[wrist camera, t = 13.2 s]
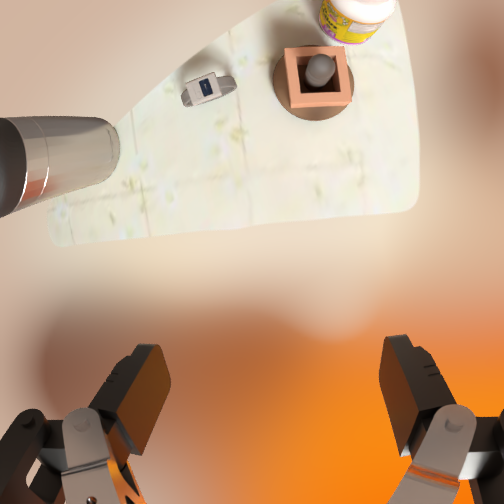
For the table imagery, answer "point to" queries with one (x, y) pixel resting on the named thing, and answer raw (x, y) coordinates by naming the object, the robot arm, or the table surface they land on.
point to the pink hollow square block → (339, 77)
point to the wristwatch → (207, 89)
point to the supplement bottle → (354, 19)
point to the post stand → (310, 85)
